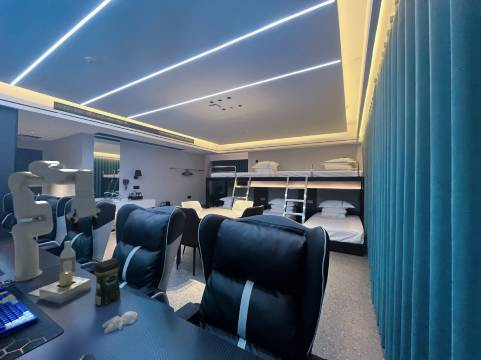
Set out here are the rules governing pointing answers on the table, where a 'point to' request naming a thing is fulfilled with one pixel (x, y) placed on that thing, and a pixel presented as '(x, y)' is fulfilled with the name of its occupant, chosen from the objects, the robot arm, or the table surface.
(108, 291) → the coffee jar
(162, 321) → the table surface
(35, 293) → the mat
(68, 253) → the bath foam
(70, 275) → the end cover
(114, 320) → the astronaut figurine
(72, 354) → the table surface
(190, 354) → the table surface
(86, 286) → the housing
